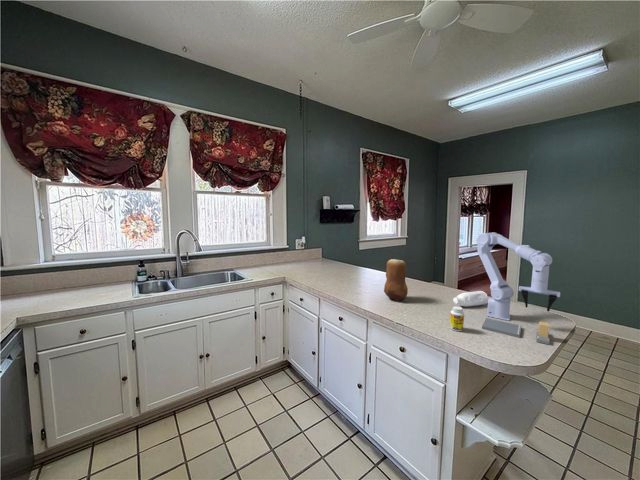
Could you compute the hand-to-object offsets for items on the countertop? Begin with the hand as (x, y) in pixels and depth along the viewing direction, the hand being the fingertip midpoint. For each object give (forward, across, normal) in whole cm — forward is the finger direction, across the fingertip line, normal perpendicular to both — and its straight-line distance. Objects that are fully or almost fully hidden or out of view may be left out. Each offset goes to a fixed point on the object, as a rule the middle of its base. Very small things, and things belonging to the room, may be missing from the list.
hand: (537, 308), depth 121 cm
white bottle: (+10, -29, +13) cm, 33 cm away
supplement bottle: (+10, -28, -24) cm, 38 cm away
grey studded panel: (+9, -12, -10) cm, 18 cm away
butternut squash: (+10, -67, -3) cm, 68 cm away
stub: (+9, +3, -10) cm, 14 cm away
